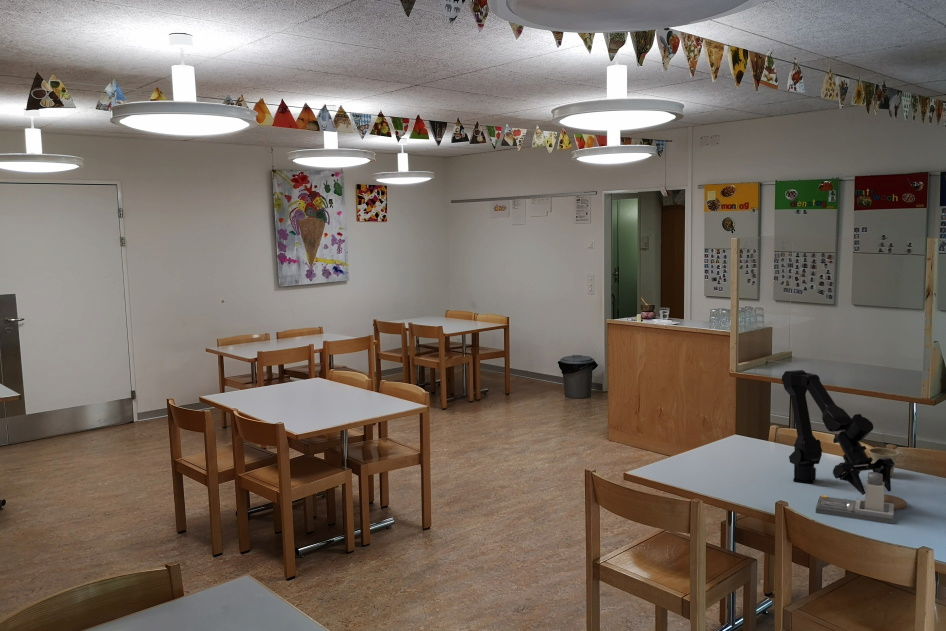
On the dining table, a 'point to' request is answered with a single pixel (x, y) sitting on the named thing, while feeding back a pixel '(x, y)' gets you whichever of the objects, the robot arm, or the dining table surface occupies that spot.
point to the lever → (837, 504)
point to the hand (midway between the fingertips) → (877, 492)
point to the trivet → (895, 501)
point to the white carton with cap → (874, 492)
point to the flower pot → (883, 455)
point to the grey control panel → (856, 510)
